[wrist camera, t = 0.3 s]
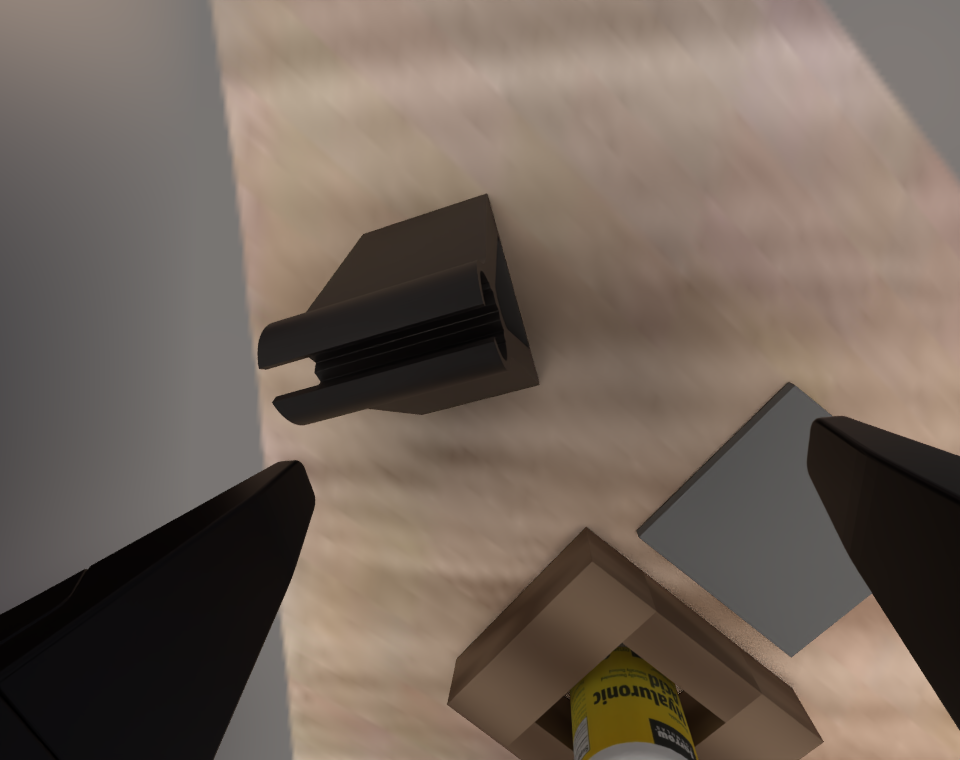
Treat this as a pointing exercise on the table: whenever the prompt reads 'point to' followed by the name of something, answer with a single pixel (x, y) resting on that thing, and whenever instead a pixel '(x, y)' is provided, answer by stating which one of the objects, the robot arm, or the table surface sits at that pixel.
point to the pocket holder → (592, 637)
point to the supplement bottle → (628, 713)
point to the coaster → (762, 529)
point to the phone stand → (409, 322)
